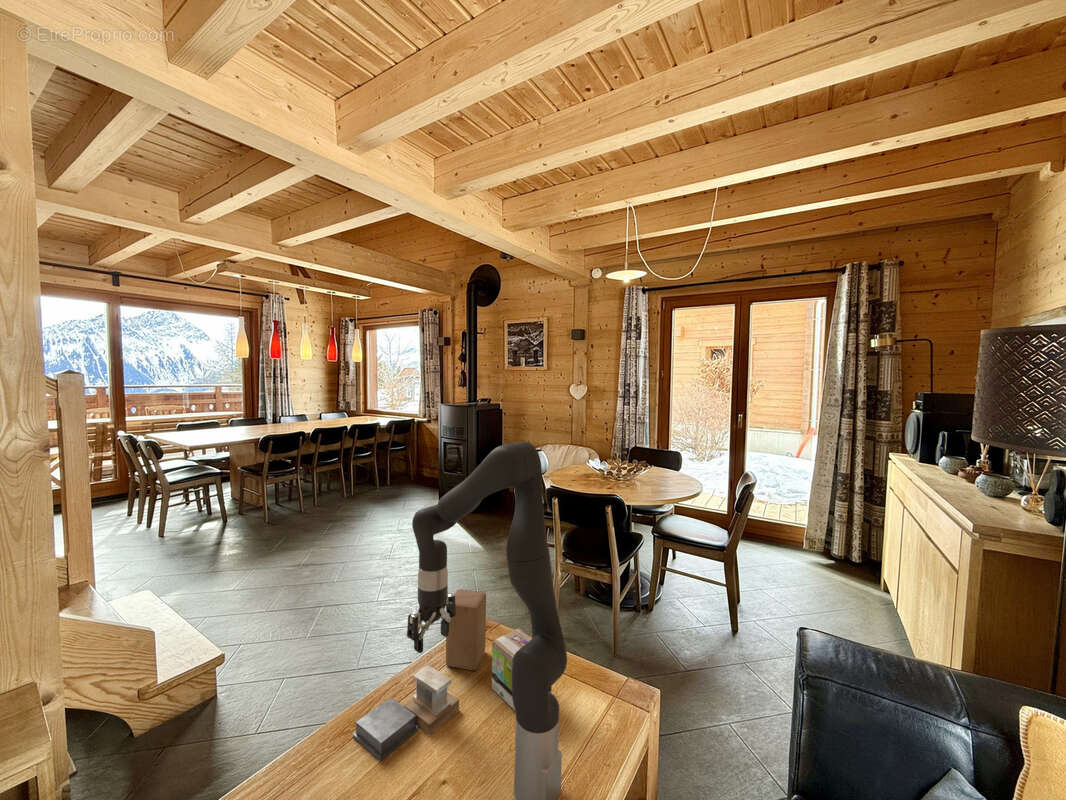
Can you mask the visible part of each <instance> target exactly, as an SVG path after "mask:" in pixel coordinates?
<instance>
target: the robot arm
mask: <svg viewBox="0 0 1066 800" xmlns="http://www.w3.org/2000/svg"><path fill="white" fill-rule="evenodd" d="M542 471H543V470H542V461H541V456H540V454H539V451H538V449H537V448H536V447H535V446H534V445H533V444H532V443H531V442H529V441H516V442H512V443H506V444H502V445H499V446H497V447H495V448H494V449H493V450H491V451H490V452H489V453H488V454H487V456H486V457H485V458H484V459H483V460H482V461H481V463H480V464H479V465H478V466H476V468H475V469H474V470H473V471H472V472H471V473H470V475H468V476H467V477H466V478H465V479H464V480H463V481H462V482H460V483H458V484H457V485H456V486H455V487H453V488H452V489H451V490H449V491H448V492H447V493H445V494H444V495H443V496H442V497H440V499H439V500H438V502H437V504H434V505H431V506H427V507H424V508H420V509H419V510H417V511H416V512H415V513H414V515H413V518H412V523H411V527H412V530H413V533H414V538H415V541H416V544H417V548H418V573H417V603H418V607H419V608H418V610H417V612H415V613H409V614H408V615H407V627H406V628H407V629H406V630H407V631H406V638H408V639H410V640H411V641H413V650H414V651H416V652H417V653H418V654H422V653H423V652H424V636H425V634H426V632H427V631H429V629H430V627H431V625H433V624H434V623H435V622H437V621H439V620H440V619H441V620H440V635H441V636H443V637H445V638H446V636H448V633H449V622H450V621H451V618H452V617H455V615H456V607H455V596H453V595H454V594H451V593H448V588H449V586H448V585H449V573H448V572H449V571H448V546H447V544H446V542H445V541H443V540H441V539H434V536H435V535H437V534H440V533H443V532H445V531H448V530H449V529H451V528H453V527H454V526H456V524H457V523H458V522H459V521H460V520H461V519H462V518H464V517H466V516H467V515H468V514H470V513H472V512H473V511H474V510H475V509H476V508H478V506H479V505H480V504H481V502H483V499H485V498H486V497H488V496H490V495H491V494H494V493H496V492H499V491H502V490H505V489H514V490H513V491H514V502H515V505H514V506H515V507H514V508H515V509H514V513H513V519H512V521H511V525H510V527H509V528H510V529H509V532H508V536H507V540H506V548H505V549H506V551H505V552H506V553H505V554H506V560H507V561H506V563H507V569H508V570H507V571H508V577H509V581H510V584H511V585H512V588H513V589H514V590H515V592H516V594H517V595H518V597H519V598H520V600H522V602H523V604H525V606H526V608H527V609H528V613H529V617H530V622H531V632H532V636H531V638H532V639H531V640H530V641H529V642H528V643H526V644H525V645H524V646H523V647H522V648H520V649H519V650H518V651H517V652H516V653H515V655H514V657H513V661H512V699H513V704H514V708H515V710H514V711H515V728H514V730H515V733H514V734H515V737H514V769H513V771H514V773H513V774H514V776H513V777H514V778H513V779H514V781H513V784H514V785H513V795H514V798H515V800H558V798H559V796H561V793H562V765H563V764H562V761H563V759H562V758H563V752H562V750H560V749H559V733H560V732H559V731H560V730H559V729H560V705H559V702H558V699H557V697H556V696H555V695H554V694H552V692H551V693H550V692H549V688H550V687H551V686H553V685H554V684H555V683H556V682H557V681H559V679H560V678H561V677H562V676H563V674H564V673H565V671H566V669H567V664H568V656H567V655H568V654H567V648H566V644H565V638H564V635H563V630H562V626H561V621H560V618H559V617H560V616H559V614H558V606H557V602H556V601H557V600H556V594H555V593H556V592H555V589H554V581H553V572H552V564H551V556H550V549H549V544H548V538H547V537H548V535H547V527H546V519H545V510H544V501H543V500H544V499H543V498H544V496H543V472H542ZM423 623H425V625H424V624H423Z"/></svg>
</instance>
